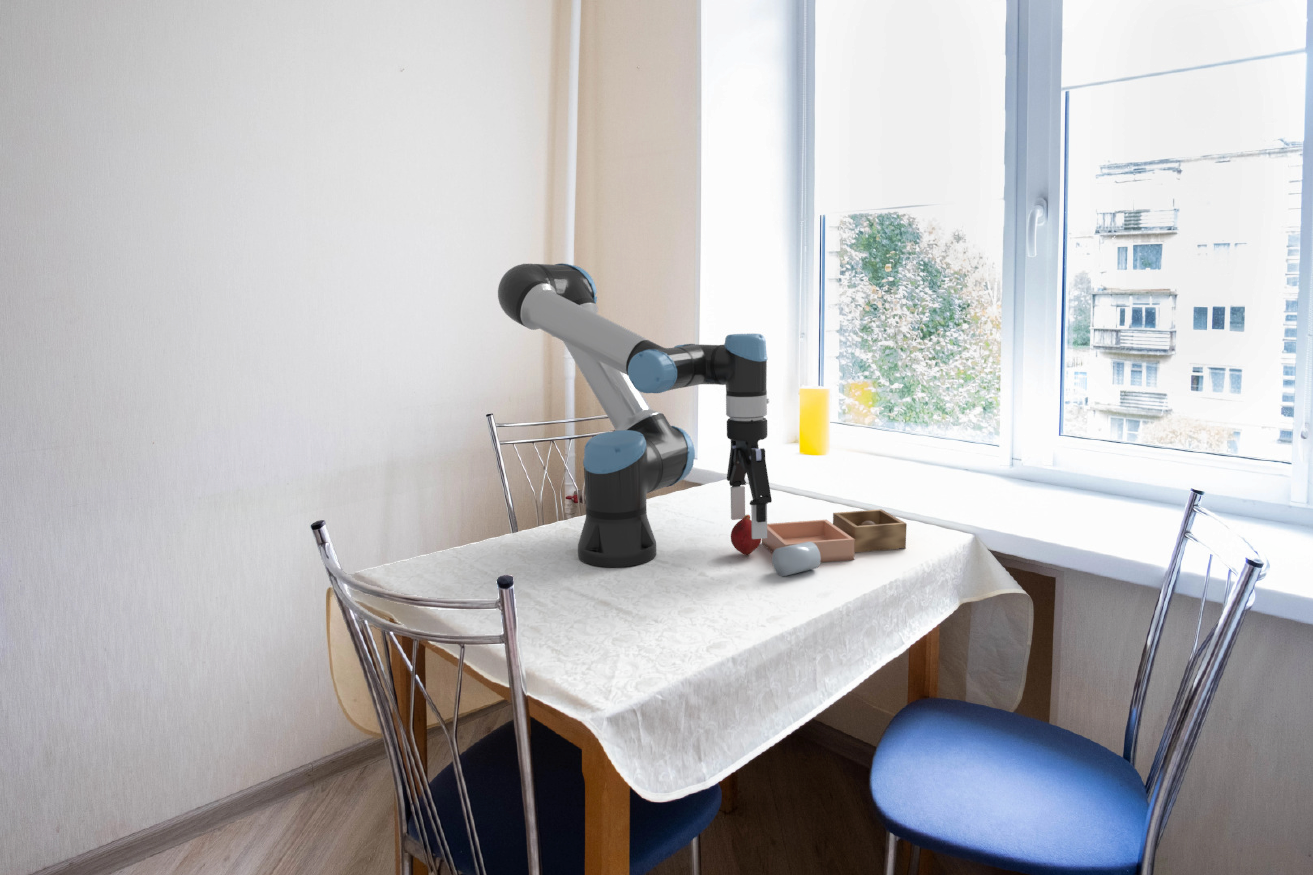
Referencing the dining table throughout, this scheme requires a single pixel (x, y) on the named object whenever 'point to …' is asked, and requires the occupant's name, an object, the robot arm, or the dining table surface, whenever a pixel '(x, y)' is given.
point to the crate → (872, 530)
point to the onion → (744, 536)
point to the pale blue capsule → (796, 558)
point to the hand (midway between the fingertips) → (748, 528)
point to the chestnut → (867, 523)
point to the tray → (812, 538)
